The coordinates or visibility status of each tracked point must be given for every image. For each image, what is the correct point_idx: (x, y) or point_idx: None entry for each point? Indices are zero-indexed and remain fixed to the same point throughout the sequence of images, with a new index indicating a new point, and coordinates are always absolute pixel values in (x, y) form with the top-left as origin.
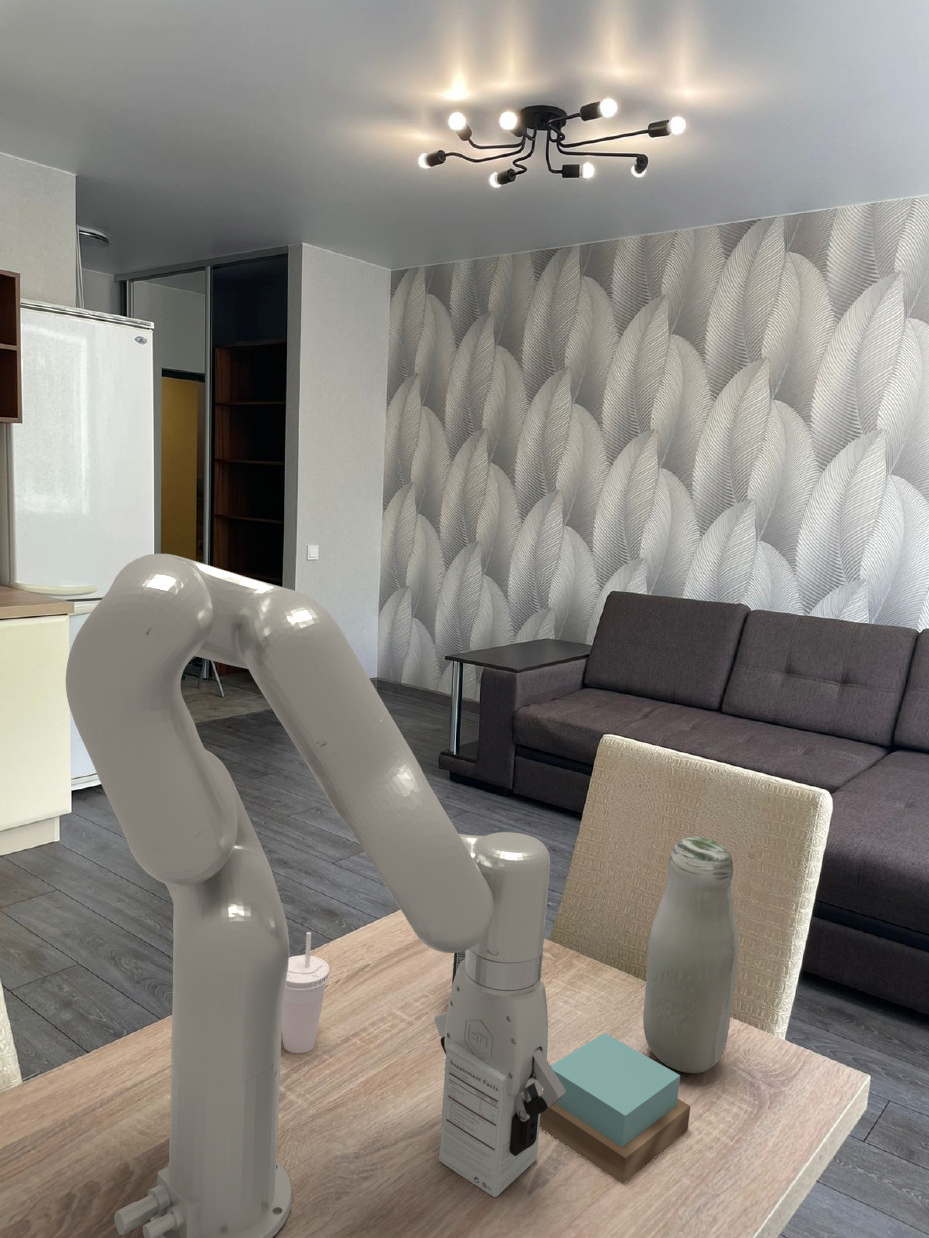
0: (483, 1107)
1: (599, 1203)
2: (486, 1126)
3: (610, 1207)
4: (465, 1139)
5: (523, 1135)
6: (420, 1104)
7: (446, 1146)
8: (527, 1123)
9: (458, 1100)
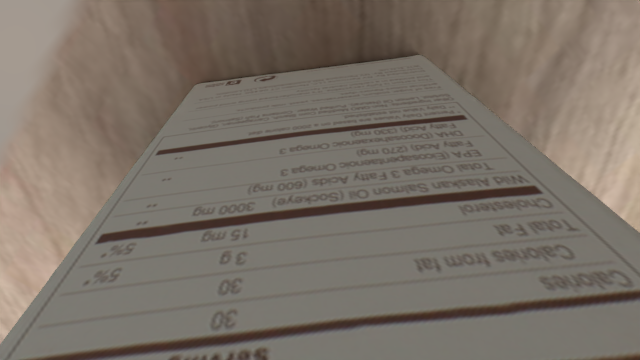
0: (193, 281)
1: (51, 262)
2: (189, 199)
3: (30, 270)
4: (331, 115)
5: None
6: (600, 168)
7: (412, 75)
8: None
9: (444, 207)
